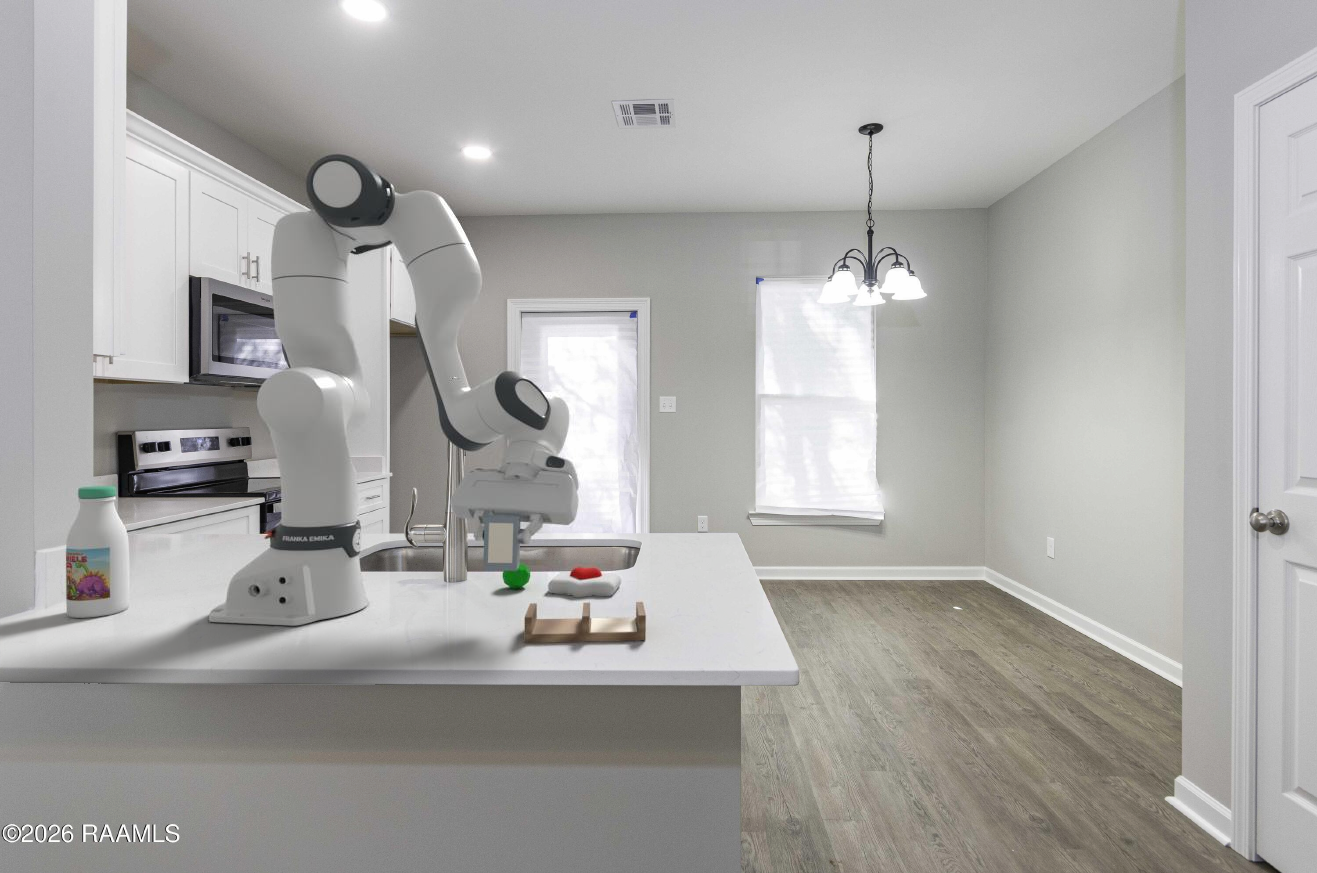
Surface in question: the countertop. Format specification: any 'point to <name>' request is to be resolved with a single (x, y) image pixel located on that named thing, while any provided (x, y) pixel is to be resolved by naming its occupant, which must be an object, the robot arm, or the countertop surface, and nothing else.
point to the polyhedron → (517, 577)
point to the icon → (585, 583)
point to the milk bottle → (97, 557)
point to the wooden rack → (584, 627)
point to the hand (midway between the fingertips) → (500, 540)
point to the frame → (501, 542)
